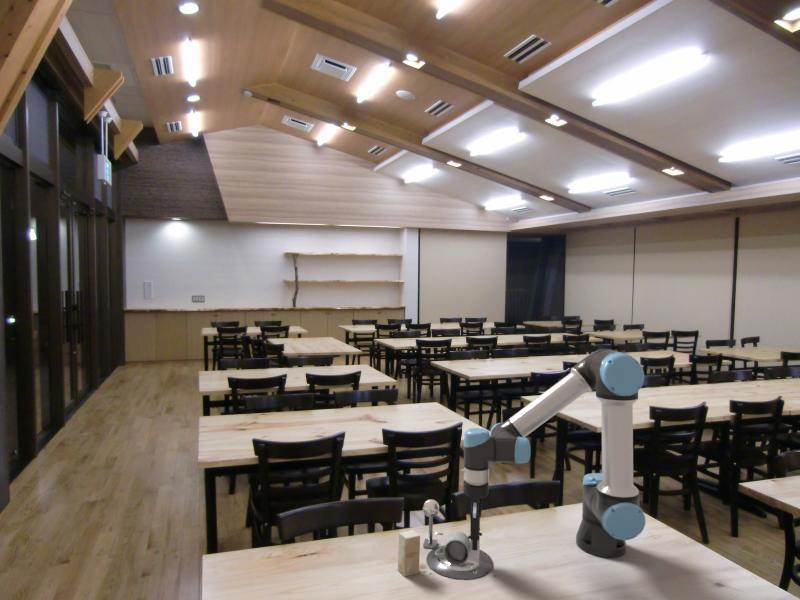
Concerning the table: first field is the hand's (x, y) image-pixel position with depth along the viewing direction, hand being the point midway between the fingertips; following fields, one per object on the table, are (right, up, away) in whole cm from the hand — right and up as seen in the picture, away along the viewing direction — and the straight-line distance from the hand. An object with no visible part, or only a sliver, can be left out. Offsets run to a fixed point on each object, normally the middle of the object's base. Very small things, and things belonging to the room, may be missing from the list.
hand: (474, 558), depth 159 cm
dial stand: (-13, -1, +11) cm, 17 cm away
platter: (-5, -1, +1) cm, 5 cm away
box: (-20, -1, -5) cm, 21 cm away
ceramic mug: (-6, -1, +1) cm, 7 cm away
